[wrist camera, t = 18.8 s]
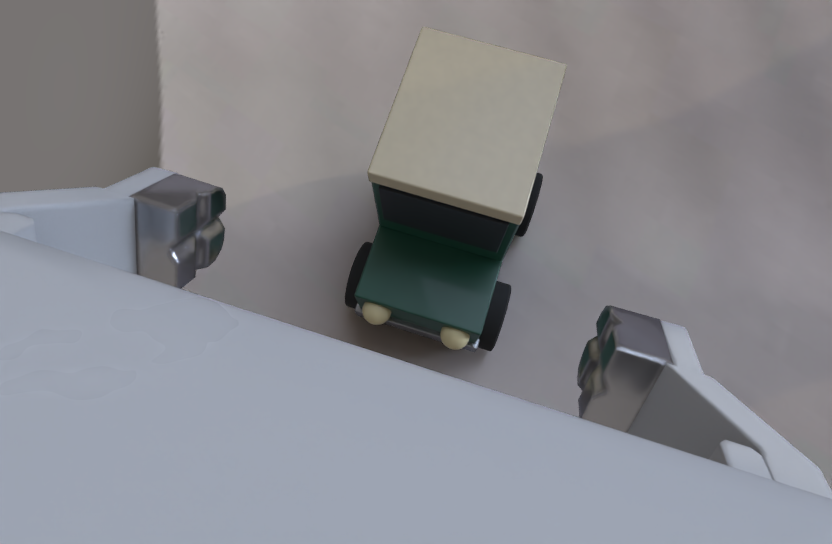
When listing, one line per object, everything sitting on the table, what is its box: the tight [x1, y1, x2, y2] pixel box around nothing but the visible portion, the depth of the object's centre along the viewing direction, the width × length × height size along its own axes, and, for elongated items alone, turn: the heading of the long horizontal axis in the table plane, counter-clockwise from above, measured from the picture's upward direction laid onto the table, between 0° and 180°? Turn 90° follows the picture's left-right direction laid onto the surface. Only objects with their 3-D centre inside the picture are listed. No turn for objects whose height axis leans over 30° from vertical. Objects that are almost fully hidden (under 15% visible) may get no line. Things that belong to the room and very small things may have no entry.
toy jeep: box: [345, 27, 567, 352], centre depth 19 cm, size 8×6×8 cm
